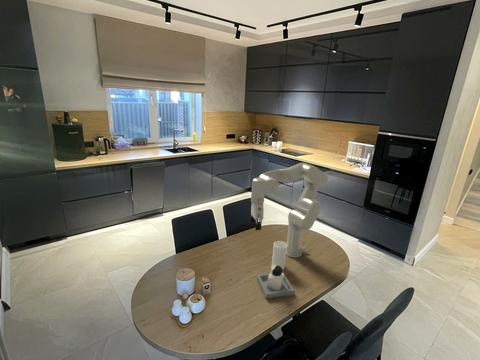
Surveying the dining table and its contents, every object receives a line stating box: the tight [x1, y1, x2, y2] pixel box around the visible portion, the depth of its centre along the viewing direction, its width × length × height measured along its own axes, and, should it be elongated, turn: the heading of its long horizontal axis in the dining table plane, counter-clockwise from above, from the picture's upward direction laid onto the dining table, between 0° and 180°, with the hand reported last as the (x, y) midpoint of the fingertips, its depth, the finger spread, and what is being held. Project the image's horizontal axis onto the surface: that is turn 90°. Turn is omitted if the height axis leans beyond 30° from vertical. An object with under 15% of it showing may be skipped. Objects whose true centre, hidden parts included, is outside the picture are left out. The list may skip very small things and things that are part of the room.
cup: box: [271, 240, 287, 271], centre depth 160 cm, size 8×8×16 cm
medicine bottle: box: [267, 265, 285, 291], centre depth 143 cm, size 7×7×12 cm
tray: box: [256, 271, 295, 300], centre depth 144 cm, size 16×16×3 cm
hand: (255, 226), depth 153 cm, fingers open, 9 cm apart
